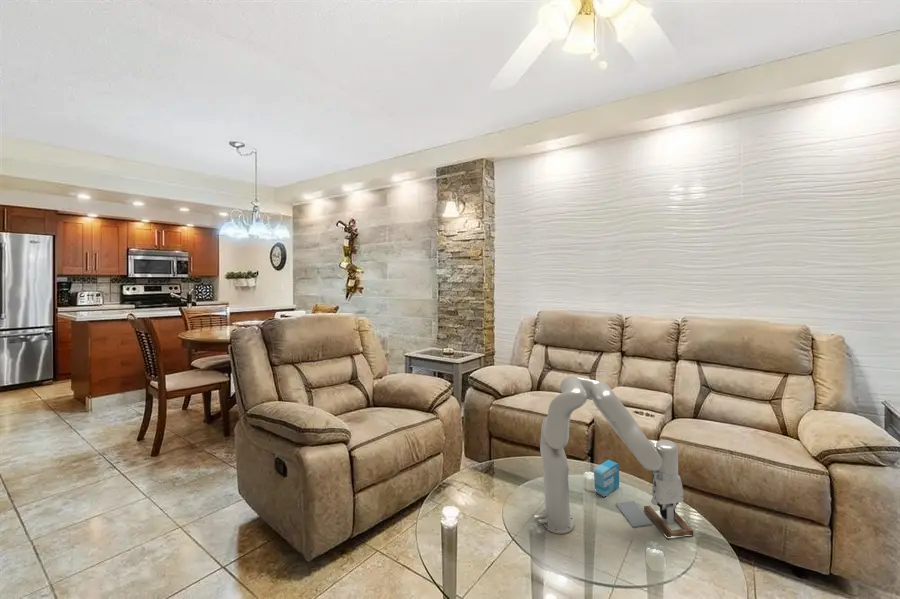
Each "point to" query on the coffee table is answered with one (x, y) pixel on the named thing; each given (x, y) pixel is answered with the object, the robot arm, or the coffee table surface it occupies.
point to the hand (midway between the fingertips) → (667, 516)
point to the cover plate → (673, 526)
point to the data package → (606, 477)
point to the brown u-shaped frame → (664, 527)
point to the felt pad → (634, 514)
